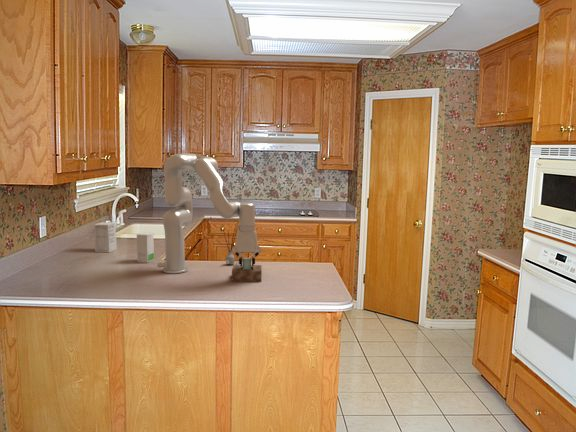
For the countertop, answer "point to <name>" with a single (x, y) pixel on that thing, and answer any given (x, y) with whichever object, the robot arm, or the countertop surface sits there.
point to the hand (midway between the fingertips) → (247, 265)
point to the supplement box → (105, 237)
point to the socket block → (246, 273)
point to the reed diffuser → (230, 253)
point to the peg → (246, 263)
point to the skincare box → (145, 247)
